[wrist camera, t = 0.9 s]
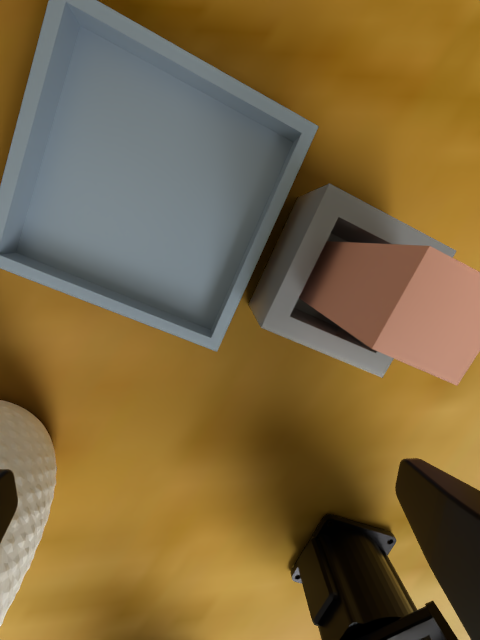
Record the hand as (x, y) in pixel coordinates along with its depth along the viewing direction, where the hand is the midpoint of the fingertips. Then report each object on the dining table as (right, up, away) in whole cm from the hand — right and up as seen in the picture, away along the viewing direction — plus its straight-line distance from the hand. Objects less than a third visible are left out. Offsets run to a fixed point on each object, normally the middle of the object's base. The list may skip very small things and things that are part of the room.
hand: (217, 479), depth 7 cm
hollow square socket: (+5, +6, +12) cm, 15 cm away
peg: (+6, +6, +11) cm, 14 cm away
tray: (-4, +10, +10) cm, 15 cm away
